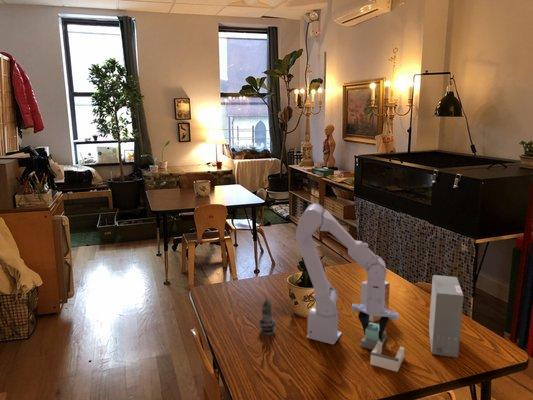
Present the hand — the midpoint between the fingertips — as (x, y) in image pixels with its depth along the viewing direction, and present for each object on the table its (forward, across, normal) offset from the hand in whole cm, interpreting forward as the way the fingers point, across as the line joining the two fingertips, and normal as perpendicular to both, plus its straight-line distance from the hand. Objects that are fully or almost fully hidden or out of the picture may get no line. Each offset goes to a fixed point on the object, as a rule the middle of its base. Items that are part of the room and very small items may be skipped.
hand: (373, 335), depth 136 cm
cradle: (+2, 0, 0) cm, 2 cm away
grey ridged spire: (+2, +33, +10) cm, 35 cm away
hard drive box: (+2, -20, -9) cm, 22 cm away
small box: (+2, +4, -17) cm, 18 cm away
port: (+2, -7, +8) cm, 11 cm away
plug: (+2, 0, 0) cm, 2 cm away
